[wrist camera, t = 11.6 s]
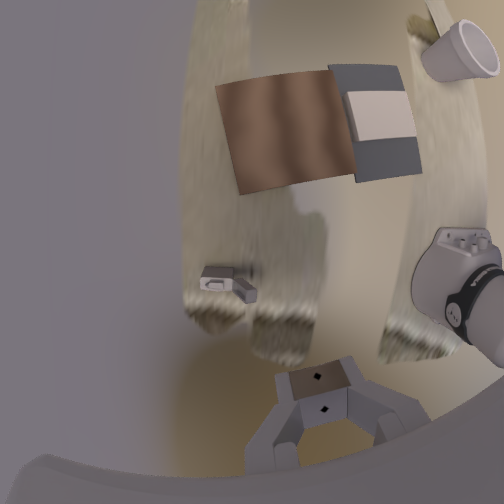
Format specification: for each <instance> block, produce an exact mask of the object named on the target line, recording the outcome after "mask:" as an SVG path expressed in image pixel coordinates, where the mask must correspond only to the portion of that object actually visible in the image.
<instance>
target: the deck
mask: <svg viewBox="0 0 504 504" xmlns="http://www.w3.org/2000/svg"><path fill="white" fill-rule="evenodd" d="M215 88H216V92H217V97H218V101H219V105H220V110H221V114H222V118H223V123H224V127H225V132H226V136H227V140H228V145H229V149H230V153H231V158H232V162H233V167H234V171H235V175H236V180H237V184H238V188H239V193H240V195H244V194H248V193H253V192H257V191H262V190H267V189H271V188H276V187H281V186H286V185H291V184H296V183H302V182H307V181H312V180H318V179H324V178H329V177H335V176H341V175H348V174H354V173H357V167H356V162H355V157H354V152H353V147H352V142H351V138H350V133H349V129H348V125H347V120H346V116H345V112H344V108H343V105H342V101H341V97H340V94H339V90H338V87H337V83H336V80H335V77H334V73H333V70H321V71H308V72H297V73H288V74H280V75H273V76H266V77H260V78H253V79H248V80H243V81H237V82H233V83H228V84H223V85H219V86H215Z"/></svg>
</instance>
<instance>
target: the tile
mask: <svg viewBox="0 0 504 504" xmlns="http://www.w3.org/2000/svg"><path fill="white" fill-rule="evenodd" d="M341 98H342V101H343V105H344V109H345V113H346V116H347V121H348V125H349V129H350V133H351V138H352V142H353V143H355V142H364V141H374V140H385V139H397V138H410V137H416V136H417V133H416V128H415V124H414V119H413V115H412V111H411V107H410V103H409V100H408V96H407V93H406V91H353V92H346V93H345V94H344V95H342V96H341Z"/></svg>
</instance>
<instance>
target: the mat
mask: <svg viewBox="0 0 504 504" xmlns="http://www.w3.org/2000/svg"><path fill="white" fill-rule="evenodd" d="M328 68H329V70H333V73H334V77H335V80H336V83H337V87H338V90H339V94H340V97H341V96H342V95H344V94H345V93H346V92H353V91H405V89H404V86H403V83H402V80H401V76H400V73H399V70H398V68H397V66H392V65H372V64H336V65H335V64H333V65H328ZM341 101H342V98H341ZM342 105H343V101H342ZM343 108H344V105H343ZM344 112H345V109H344ZM345 116H346V113H345ZM346 120H347V116H346ZM347 125H348V121H347ZM348 129H349V125H348ZM349 133H350V129H349ZM350 138H351V133H350ZM351 142H352V138H351ZM352 147H353V152H354V157H355V162H356V167H357V173H354V176H355V182H356V183H360V182H366V181H372V180H379V179H386V178H392V177H399V176H406V175H414V174H421V173H422V167H421V160H420V154H419V149H418V143H417V138H416V137H410V138H397V139H385V140H374V141H364V142H355V143H353V142H352Z"/></svg>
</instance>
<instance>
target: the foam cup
mask: <svg viewBox="0 0 504 504" xmlns="http://www.w3.org/2000/svg"><path fill="white" fill-rule="evenodd" d="M421 61H422V64H423V67H424V69H425V70H426V72H427V74H428V75H429V76H430V77H431V78H432V79H434V80H436V81H438V82H447V81H454V80H462V79H471V78H490V77H494V76H497V75H498V73H499V72H500V62H499V58H498V56H497V53H496V50H495V48H494V46H493V45H492V43H491V41H490V40H489V38H488V37H487V36H486V34H485V33H484V32H483V31H482V30H481V29H480V28H479V27H478V26H477V25H475V24H474V23H473V22H471V21H469V20H465V19H463V20H461V21H459V22H457V23H455V24H454V25H453V26H451V27H450V30H449V31H447V32H446V33H445V34H444V35H443V36H442V37H441V38H439V39H438V40H437V41H436V42H435V43H434V44H433V45H432V46H430V47H429V48H428V49H427V50H426V51H425V52H424V53H423V54H422V57H421Z"/></svg>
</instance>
